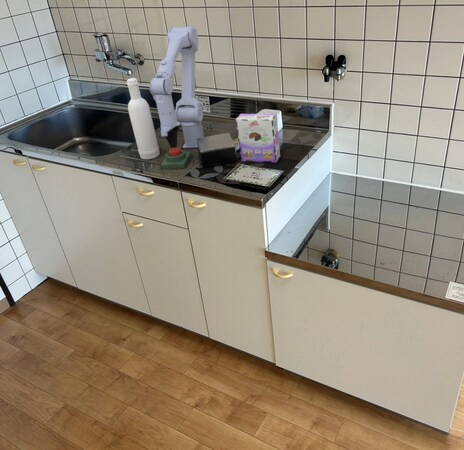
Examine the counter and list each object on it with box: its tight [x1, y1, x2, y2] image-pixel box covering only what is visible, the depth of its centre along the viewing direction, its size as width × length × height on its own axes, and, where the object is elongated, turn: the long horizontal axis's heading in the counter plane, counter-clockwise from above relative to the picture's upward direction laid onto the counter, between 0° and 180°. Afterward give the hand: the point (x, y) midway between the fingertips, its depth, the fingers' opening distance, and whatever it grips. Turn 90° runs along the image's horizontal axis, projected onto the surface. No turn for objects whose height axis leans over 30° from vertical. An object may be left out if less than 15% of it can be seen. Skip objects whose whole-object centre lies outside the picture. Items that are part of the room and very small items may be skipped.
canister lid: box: [196, 132, 236, 153], centre depth 172 cm, size 13×13×1 cm
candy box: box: [235, 113, 281, 164], centre depth 167 cm, size 14×6×16 cm, turn 71°
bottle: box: [126, 77, 161, 160], centre depth 177 cm, size 8×8×30 cm
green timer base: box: [160, 148, 192, 170], centre depth 176 cm, size 11×9×4 cm
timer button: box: [168, 147, 182, 157], centre depth 175 cm, size 4×4×2 cm
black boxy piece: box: [196, 140, 238, 170], centre depth 174 cm, size 12×13×6 cm
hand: (173, 146), depth 174 cm, fingers closed
